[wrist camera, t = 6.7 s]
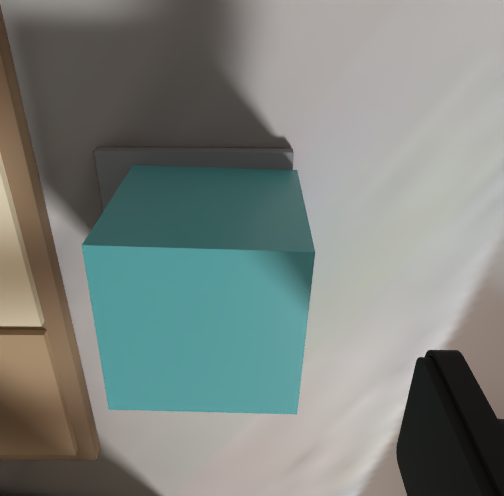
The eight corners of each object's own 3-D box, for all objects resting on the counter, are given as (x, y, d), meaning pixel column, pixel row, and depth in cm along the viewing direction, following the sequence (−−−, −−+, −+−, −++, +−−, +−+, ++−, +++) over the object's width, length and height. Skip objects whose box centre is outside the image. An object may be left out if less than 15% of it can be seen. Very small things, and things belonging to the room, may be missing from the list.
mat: (97, 147, 15) (93, 151, 14) (292, 148, 15) (293, 152, 14) (121, 305, 18) (119, 311, 17) (284, 306, 18) (285, 312, 17)
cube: (133, 164, 15) (81, 244, 10) (296, 169, 15) (315, 252, 10) (145, 298, 17) (108, 409, 13) (286, 302, 17) (296, 414, 13)
